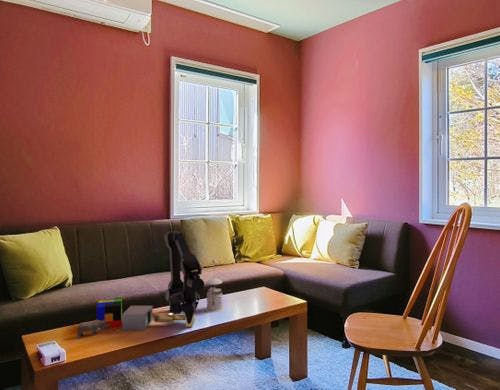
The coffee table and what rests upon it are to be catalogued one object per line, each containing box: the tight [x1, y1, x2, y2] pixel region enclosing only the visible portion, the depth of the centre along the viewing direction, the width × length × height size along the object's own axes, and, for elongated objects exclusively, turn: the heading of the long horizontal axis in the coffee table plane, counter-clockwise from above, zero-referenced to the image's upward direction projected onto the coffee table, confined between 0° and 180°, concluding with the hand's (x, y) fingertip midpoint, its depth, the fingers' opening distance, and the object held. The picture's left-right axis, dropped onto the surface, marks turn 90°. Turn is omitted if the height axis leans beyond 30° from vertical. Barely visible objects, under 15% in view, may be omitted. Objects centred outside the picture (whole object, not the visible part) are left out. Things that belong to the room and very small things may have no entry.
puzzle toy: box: [96, 298, 123, 331], centre depth 177 cm, size 10×10×10 cm
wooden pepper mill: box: [153, 312, 195, 328], centre depth 176 cm, size 6×17×6 cm, turn 90°
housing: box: [121, 305, 154, 331], centre depth 176 cm, size 12×10×7 cm
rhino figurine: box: [76, 319, 110, 339], centre depth 166 cm, size 4×14×6 cm, turn 125°
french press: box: [204, 259, 225, 313], centre depth 198 cm, size 10×12×25 cm
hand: (190, 321), depth 176 cm, fingers closed on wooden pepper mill, 6 cm apart
